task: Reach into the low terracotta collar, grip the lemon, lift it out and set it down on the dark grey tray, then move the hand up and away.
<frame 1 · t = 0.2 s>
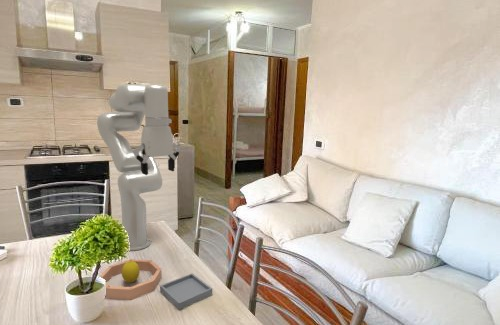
hand: (158, 172, 113), 36 cm above the table, tool pointing down, fingers open, 9 cm apart
collar: (131, 282, 110), on the table
tray: (186, 293, 105), on the table
lemon: (131, 283, 110), resting in collar
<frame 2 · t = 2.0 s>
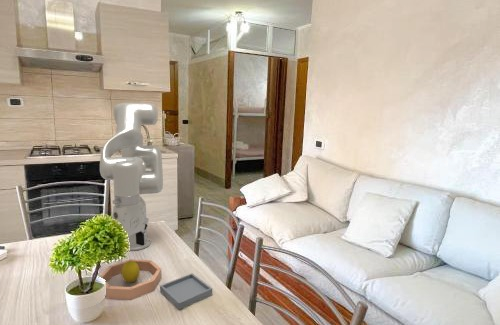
hand: (129, 250, 107), 12 cm above the table, tool pointing down, fingers open, 9 cm apart
nothing on the table moved.
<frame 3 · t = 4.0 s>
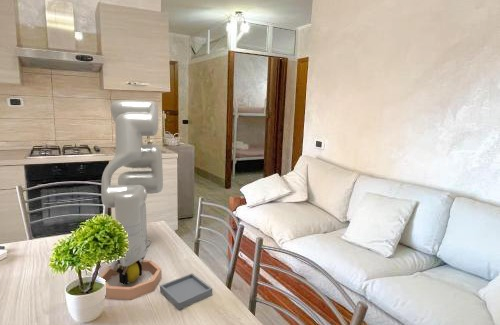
hand: (131, 278, 110), 2 cm above the table, tool pointing down, fingers closed on lemon, 5 cm apart
lemon: (131, 283, 110), resting in collar, touching gripper
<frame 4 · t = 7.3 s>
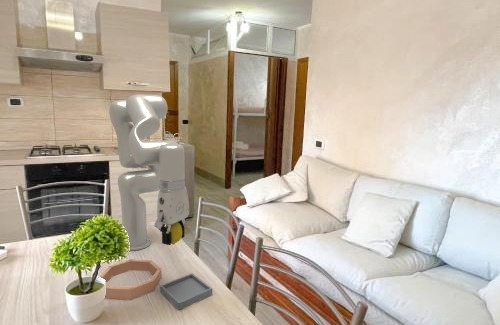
hand: (173, 239, 102), 18 cm above the table, tool pointing down, fingers closed on lemon, 5 cm apart
lemon: (173, 244, 103), point 16 cm above the table, touching gripper
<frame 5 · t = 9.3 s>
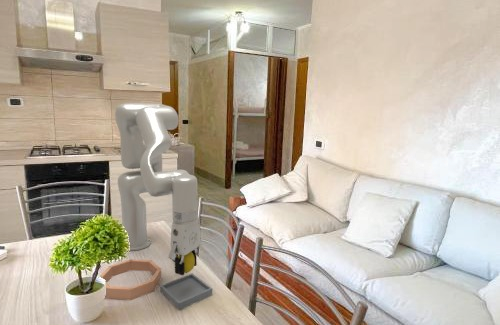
hand: (186, 268, 103), 9 cm above the table, tool pointing down, fingers closed on lemon, 5 cm apart
lemon: (186, 273, 103), point 7 cm above the table, touching gripper
when the fingers open (4 cm above the table, at t = 11.0 s): lemon drops 2 cm, resting on tray.
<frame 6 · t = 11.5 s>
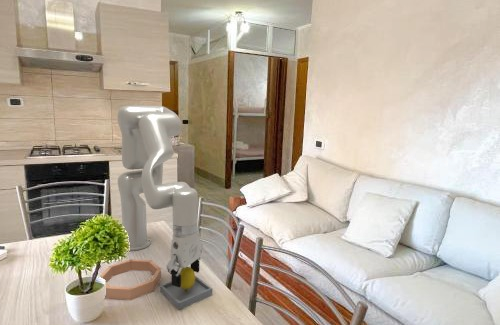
hand: (186, 278, 104), 5 cm above the table, tool pointing down, fingers open, 9 cm apart
lemon: (186, 290, 105), point 1 cm above the table, touching tray
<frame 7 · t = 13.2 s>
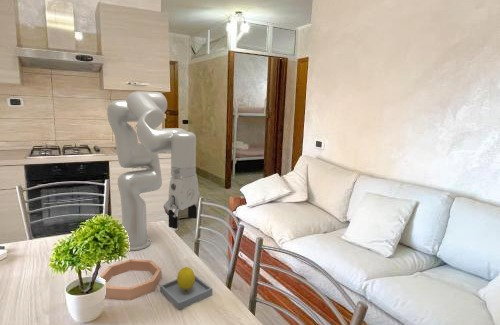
hand: (183, 222, 106), 22 cm above the table, tool pointing down, fingers open, 9 cm apart
nothing on the table moved.
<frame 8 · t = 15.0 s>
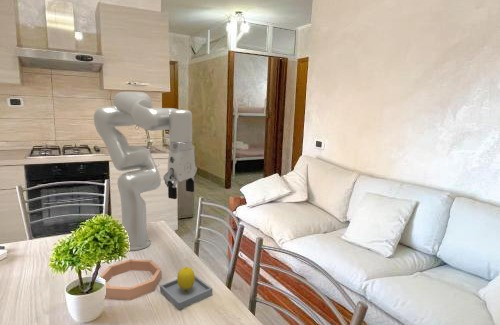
hand: (181, 194, 114), 28 cm above the table, tool pointing down, fingers open, 9 cm apart
nothing on the table moved.
at the end: lemon inside the target area on the tray (0.4 cm from its centre), point 0.8 cm above the tray's base; lemon touching tray; the gripper is holding nothing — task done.
